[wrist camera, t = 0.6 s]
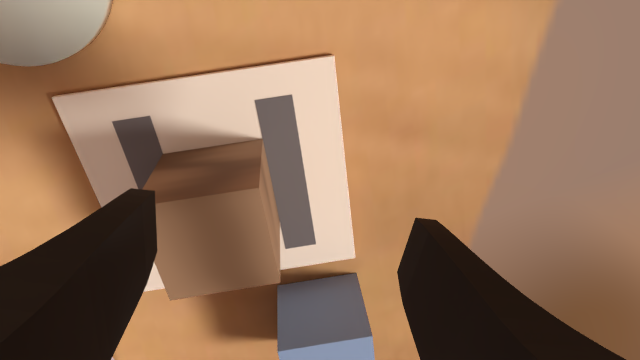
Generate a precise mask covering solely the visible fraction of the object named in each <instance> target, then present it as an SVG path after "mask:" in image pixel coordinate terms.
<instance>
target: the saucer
mask: <svg viewBox="0 0 640 360" xmlns="http://www.w3.org/2000/svg"><path fill="white" fill-rule="evenodd" d="M112 3H113V0H0V63H3V64H9V65H15V66H41V65H46V64H51V63H55V62H58V61H60V60H63V59H66V58H68V57H70V56H72V55H74V54H76V53H77V52H79V51H81V50H83V49H84V48H85V47H87V46H88V45H89V44H90V43H91V42H92V41H93V40H94V39H95V38H96V37H97V36H98V35H99V33H100V32H101V30H102V29H103V27H104V25H105V24H106V21H107V19H108V17H109V14H110V11H111V7H112Z"/></svg>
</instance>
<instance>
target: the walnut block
mask: <svg viewBox="0 0 640 360" xmlns="http://www.w3.org/2000/svg"><path fill="white" fill-rule="evenodd" d="M143 190H153V191H155V204H156V228H157V254H156V257H155V261H154V263H155V265H156V267H157V270H158V272H159V275H160V277H161V280H162V282H163V284H164V287H165V289H166V292H167V294H168V297H169V299H170V300H177V299H183V298H189V297H195V296H202V295H208V294H214V293H220V292H227V291H233V290H239V289H245V288H252V287H258V286H264V285H270V284H277V283H281V282H280V220H279V215H278V210H277V205H276V201H275V196H274V191H273V186H272V181H271V176H270V172H269V167H268V162H267V157H266V152H265V148H264V143H263V139H258V140H251V141H245V142H238V143H231V144H225V145H218V146H212V147H205V148H198V149H192V150H185V151H179V152H172V153H165V154H163V155H162V156H161V158H160V160H159V161H158V163H157V165H156V167H155V168H154V170H153V172H152V173H151V175H150V177H149V179H148V180H147V182H146V184H145V185H144V187H143Z"/></svg>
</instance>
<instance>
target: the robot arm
mask: <svg viewBox="0 0 640 360" xmlns="http://www.w3.org/2000/svg"><path fill="white" fill-rule="evenodd" d="M156 254H157V228H156V204H155V191H153V190H143V189H134V188H130V189H129V190H127V191H126V192H124V193H122V194H121V195H119V196H118V197H116V198H115V199H113V200H112V201H110V202H109V203H108V204H106V205H105V206H103V207H102V208H100V209H99V210H97V211H96V212H94V213H92V214H91V215H89V216H88V217H86V218H85V219H83V220H82V221H80V222H79V223H77V224H76V225H74V226H72V227H71V228H69V229H67V230H66V231H64V232H62V233H61V234H59V235H57V236H56V237H54V238H52V239H50V240H49V241H47V242H45V243H44V244H42V245H40V246H38V247H37V248H35V249H33V250H31V251H30V252H28V253H26V254H24V255H22V256H20V257H18V258H16V259H14V260H12V261H11V262H8V263H6V264H4V265H2V266H0V360H114V359H113V357H112V356H113V354H114V352H115V350H116V348H117V346H118V344H119V342H120V340H121V338H122V335H123V333H124V331H125V329H126V327H127V325H128V323H129V321H130V319H131V317H132V315H133V313H134V310H135V308H136V306H137V304H138V302H139V300H140V298H141V296H142V293H143V291H144V289H145V287H146V285H147V282H148V279H149V276H150V273H151V270H152V267H153V264H154V261H155V257H156ZM397 273H398V279H399V286H400V292H401V297H402V302H403V306H404V309H405V313H406V316H407V319H408V322H409V326H410V329H411V332H412V335H413V338H414V341H415V344H416V348H417V351H418V354H419V357H420V360H626V359H624V358H622V357H620V356H619V355H617V354H615V353H613V352H611V351H610V350H608V349H606V348H604V347H603V346H601V345H599V344H598V343H596V342H594V341H593V340H591V339H589V338H587V337H586V336H584V335H582V334H581V333H579V332H578V331H576V330H574V329H573V328H571V327H570V326H568V325H567V324H565V323H563V322H562V321H560V320H559V319H557V318H556V317H554V316H553V315H551V314H550V313H549V312H547V311H546V310H544V309H543V308H542V307H540V306H539V305H537V304H536V303H534V302H533V301H532V300H530V299H529V298H528V297H526V296H525V295H524V294H522V293H521V292H520V291H519V290H517V289H516V288H515V287H514V286H512V285H511V284H510V283H509V282H507V281H506V280H505V279H504V278H502V277H501V276H500V275H499V274H497V273H496V272H495V271H494V270H493V269H492V268H490V267H489V266H488V265H487V264H486V263H485V262H484V261H482V260H481V259H480V258H479V257H478V256H477V255H476V254H475V253H473V252H472V251H471V250H470V249H469V248H468V247H467V246H466V245H464V244H463V243H462V242H461V241H460V240H459V239H458V238H457V237H456V236H454V235H453V234H452V233H451V232H450V231H449V230H448V229H446V228H445V227H444V226H443V225H442V224H440V223H439V222H438V221H437V220H431V219H422V218H415V221H414V224H413V227H412V230H411V233H410V236H409V239H408V242H407V245H406V248H405V250H404V253H403V256H402V259H401V262H400V265H399V268H398V271H397Z"/></svg>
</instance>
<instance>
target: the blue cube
mask: <svg viewBox="0 0 640 360" xmlns="http://www.w3.org/2000/svg"><path fill="white" fill-rule="evenodd" d="M277 313H278V355H279V359H280V360H375V359H374V348H373V337H372V332H371V328H370V325H369V321H368V317H367V313H366V309H365V305H364V301H363V297H362V293H361V289H360V285H359V281H358V277H357V274H356V273H353V274H346V275H340V276H334V277H328V278H321V279H315V280H309V281H303V282H296V283H290V284H284V285H278V286H277Z"/></svg>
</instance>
